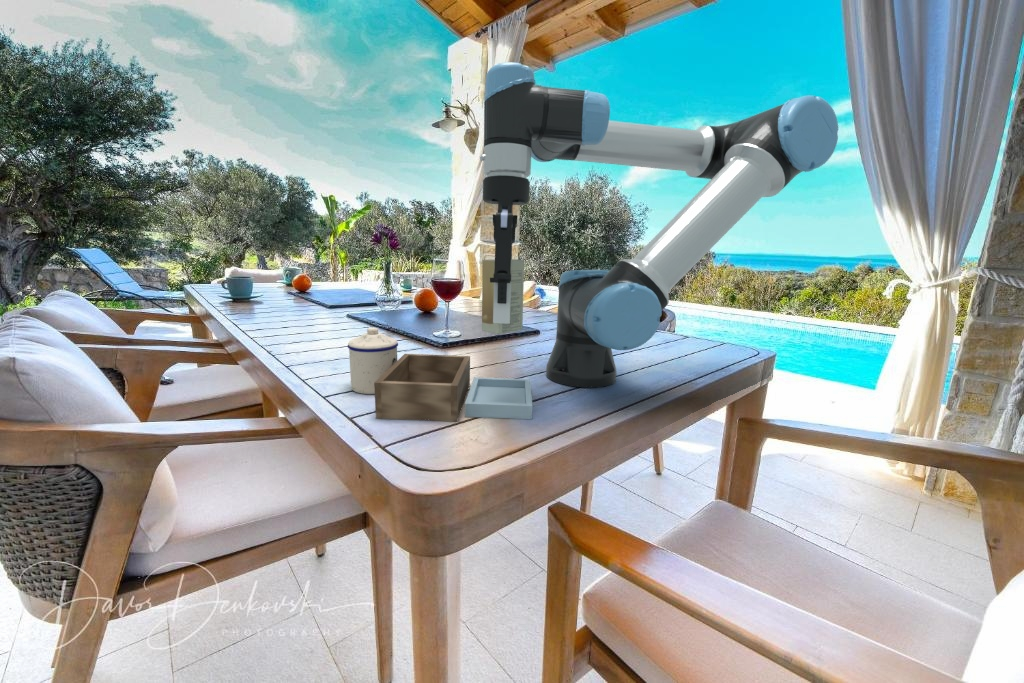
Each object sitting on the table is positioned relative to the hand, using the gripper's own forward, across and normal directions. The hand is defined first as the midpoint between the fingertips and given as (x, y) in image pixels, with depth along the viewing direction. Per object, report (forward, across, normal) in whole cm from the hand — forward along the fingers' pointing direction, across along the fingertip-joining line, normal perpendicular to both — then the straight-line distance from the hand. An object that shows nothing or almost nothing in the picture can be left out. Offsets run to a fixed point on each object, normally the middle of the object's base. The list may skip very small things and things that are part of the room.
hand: (502, 318), depth 71 cm
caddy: (+15, 0, -13) cm, 20 cm away
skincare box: (+2, 0, 0) cm, 2 cm away
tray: (+15, 0, 0) cm, 15 cm away
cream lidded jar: (+16, -7, -25) cm, 30 cm away
